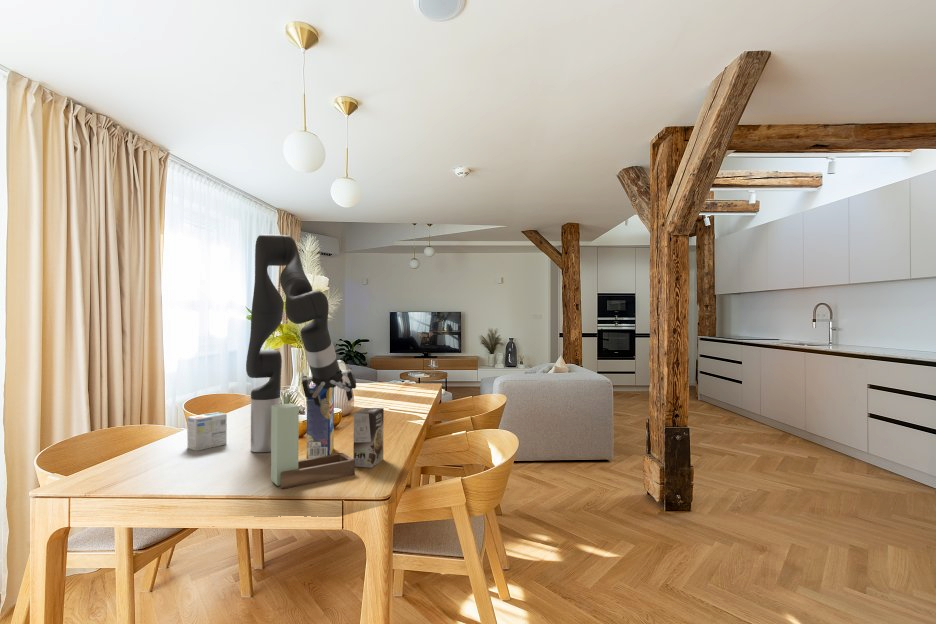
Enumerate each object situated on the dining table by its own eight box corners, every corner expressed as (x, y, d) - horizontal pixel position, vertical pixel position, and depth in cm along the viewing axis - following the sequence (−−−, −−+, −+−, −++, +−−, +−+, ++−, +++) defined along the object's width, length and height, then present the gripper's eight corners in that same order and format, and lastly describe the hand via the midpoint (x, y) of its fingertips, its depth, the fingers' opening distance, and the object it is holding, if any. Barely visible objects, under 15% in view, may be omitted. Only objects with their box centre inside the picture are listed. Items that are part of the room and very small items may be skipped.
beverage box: (333, 448, 165) (333, 383, 165) (329, 457, 154) (329, 388, 154) (312, 449, 164) (313, 383, 164) (306, 458, 153) (306, 388, 153)
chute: (272, 479, 133) (272, 465, 133) (341, 466, 145) (341, 452, 145) (282, 489, 126) (282, 473, 126) (354, 474, 138) (354, 460, 138)
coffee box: (372, 468, 144) (373, 413, 144) (352, 466, 145) (352, 412, 145) (384, 459, 153) (384, 407, 153) (365, 458, 154) (365, 406, 154)
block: (271, 479, 131) (271, 405, 132) (291, 475, 135) (292, 403, 135) (276, 485, 127) (277, 408, 127) (298, 481, 130) (298, 406, 130)
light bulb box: (217, 441, 174) (217, 411, 174) (227, 444, 170) (227, 413, 170) (186, 448, 165) (186, 416, 166) (195, 451, 161) (196, 418, 162)
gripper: (348, 345, 137) (359, 388, 146) (296, 354, 135) (310, 398, 144) (348, 361, 131) (359, 405, 140) (294, 371, 129) (309, 415, 138)
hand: (334, 401), depth 142 cm, fingers open, 8 cm apart
